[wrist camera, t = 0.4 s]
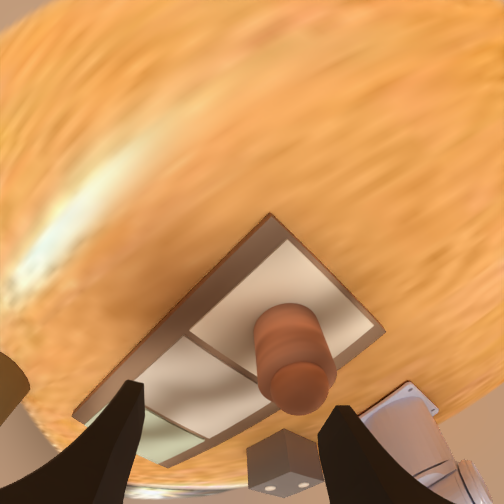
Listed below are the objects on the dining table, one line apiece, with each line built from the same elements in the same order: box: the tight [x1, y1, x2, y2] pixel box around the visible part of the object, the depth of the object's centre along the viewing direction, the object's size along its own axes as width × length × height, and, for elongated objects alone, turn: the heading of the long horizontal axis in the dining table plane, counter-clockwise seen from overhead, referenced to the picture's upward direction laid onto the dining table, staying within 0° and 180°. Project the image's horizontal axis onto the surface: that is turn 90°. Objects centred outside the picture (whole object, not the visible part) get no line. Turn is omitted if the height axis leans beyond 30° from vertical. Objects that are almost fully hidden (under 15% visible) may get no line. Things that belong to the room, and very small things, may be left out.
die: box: [247, 429, 324, 498], centre depth 24 cm, size 5×5×5 cm
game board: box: [71, 213, 386, 468], centre depth 22 cm, size 12×27×1 cm, turn 136°
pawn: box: [253, 303, 337, 415], centre depth 16 cm, size 4×4×6 cm
